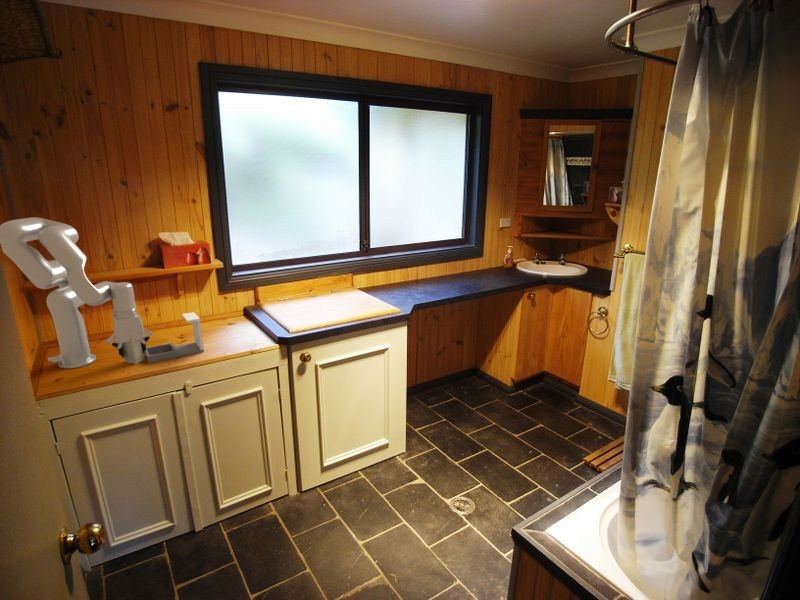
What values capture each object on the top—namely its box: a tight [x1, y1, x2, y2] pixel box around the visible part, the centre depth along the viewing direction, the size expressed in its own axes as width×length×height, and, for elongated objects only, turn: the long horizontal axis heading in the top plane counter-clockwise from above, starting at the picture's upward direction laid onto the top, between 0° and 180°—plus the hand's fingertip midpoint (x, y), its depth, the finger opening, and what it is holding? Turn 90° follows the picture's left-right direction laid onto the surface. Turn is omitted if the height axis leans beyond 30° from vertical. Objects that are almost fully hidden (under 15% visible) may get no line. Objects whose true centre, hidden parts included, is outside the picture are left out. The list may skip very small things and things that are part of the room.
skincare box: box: [121, 336, 145, 365], centre depth 185 cm, size 6×4×12 cm
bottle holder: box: [144, 311, 205, 364], centre depth 193 cm, size 22×11×15 cm, turn 126°
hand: (133, 354), depth 186 cm, fingers closed on skincare box, 7 cm apart
